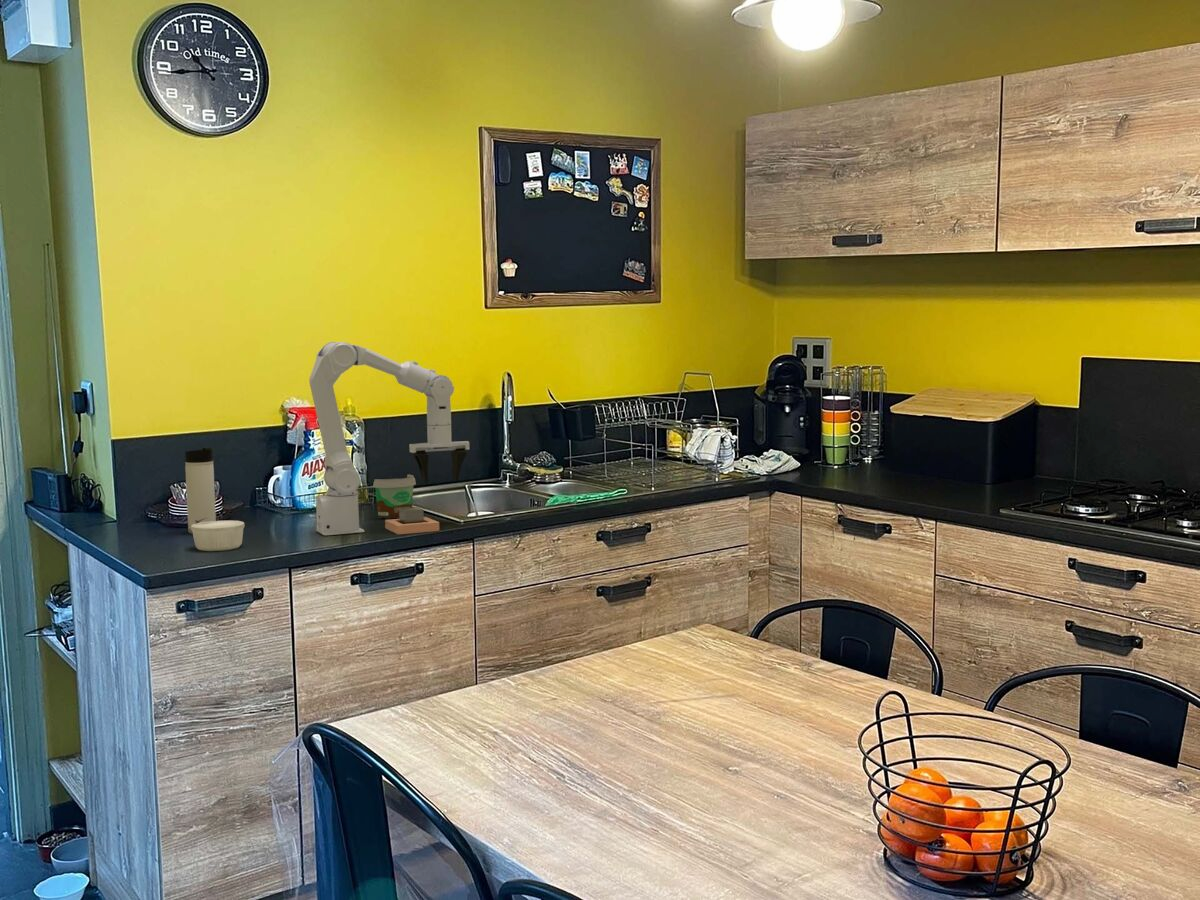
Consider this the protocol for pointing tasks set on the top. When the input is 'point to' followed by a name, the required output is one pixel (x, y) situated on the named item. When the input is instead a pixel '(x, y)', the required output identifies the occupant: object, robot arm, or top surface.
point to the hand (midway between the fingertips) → (440, 480)
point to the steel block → (411, 515)
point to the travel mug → (200, 486)
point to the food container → (393, 495)
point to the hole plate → (412, 526)
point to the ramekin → (218, 535)
